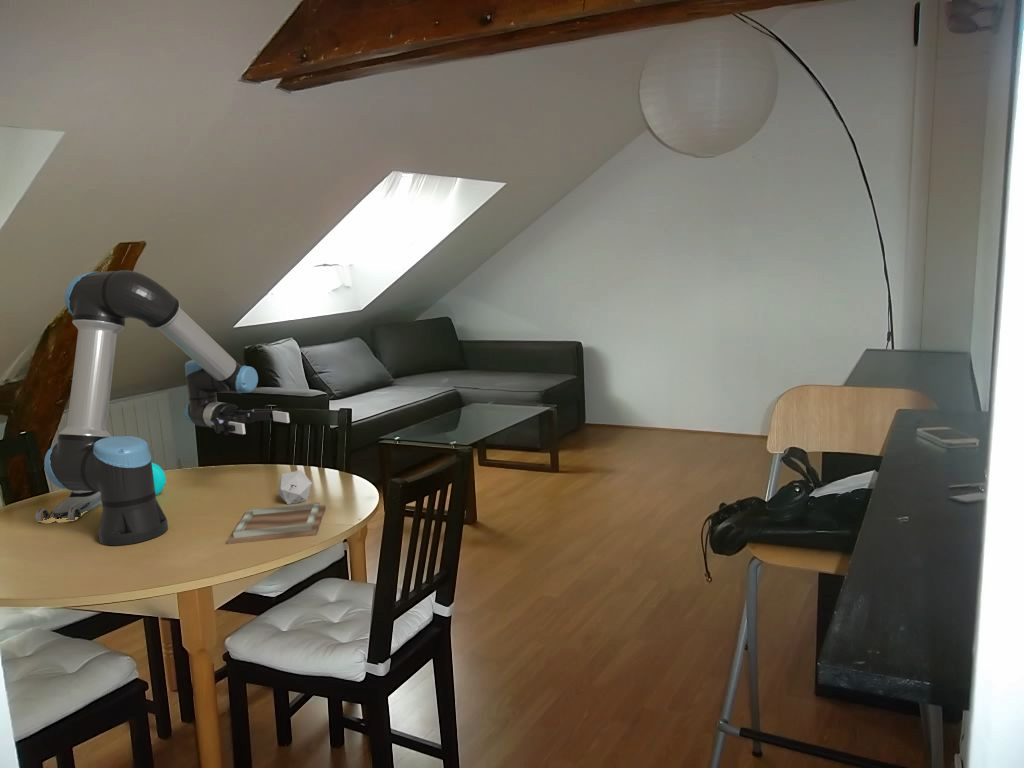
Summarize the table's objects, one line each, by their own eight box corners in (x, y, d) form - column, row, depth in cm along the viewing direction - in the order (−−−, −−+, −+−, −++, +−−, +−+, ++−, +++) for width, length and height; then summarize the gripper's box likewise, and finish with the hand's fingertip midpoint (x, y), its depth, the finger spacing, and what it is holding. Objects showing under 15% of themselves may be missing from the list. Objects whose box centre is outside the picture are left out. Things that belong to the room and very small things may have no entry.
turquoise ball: (117, 507, 216) (112, 471, 214) (134, 496, 226) (129, 461, 224) (154, 505, 216) (149, 469, 214) (169, 493, 226) (165, 459, 224)
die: (272, 506, 210) (273, 483, 204) (284, 482, 217) (286, 459, 210) (302, 515, 211) (304, 492, 204) (314, 491, 217) (316, 468, 211)
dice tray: (245, 515, 202) (244, 508, 201) (325, 507, 204) (325, 500, 204) (227, 543, 182) (226, 535, 182) (316, 534, 184) (315, 526, 184)
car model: (32, 526, 206) (29, 507, 205) (87, 496, 230) (84, 479, 229) (74, 524, 205) (71, 505, 204) (124, 494, 229) (122, 478, 228)
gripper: (263, 419, 237) (306, 426, 223) (183, 439, 218) (225, 448, 204) (259, 394, 235) (303, 400, 222) (179, 412, 217) (222, 419, 203)
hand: (266, 423), depth 213 cm, fingers open, 13 cm apart
